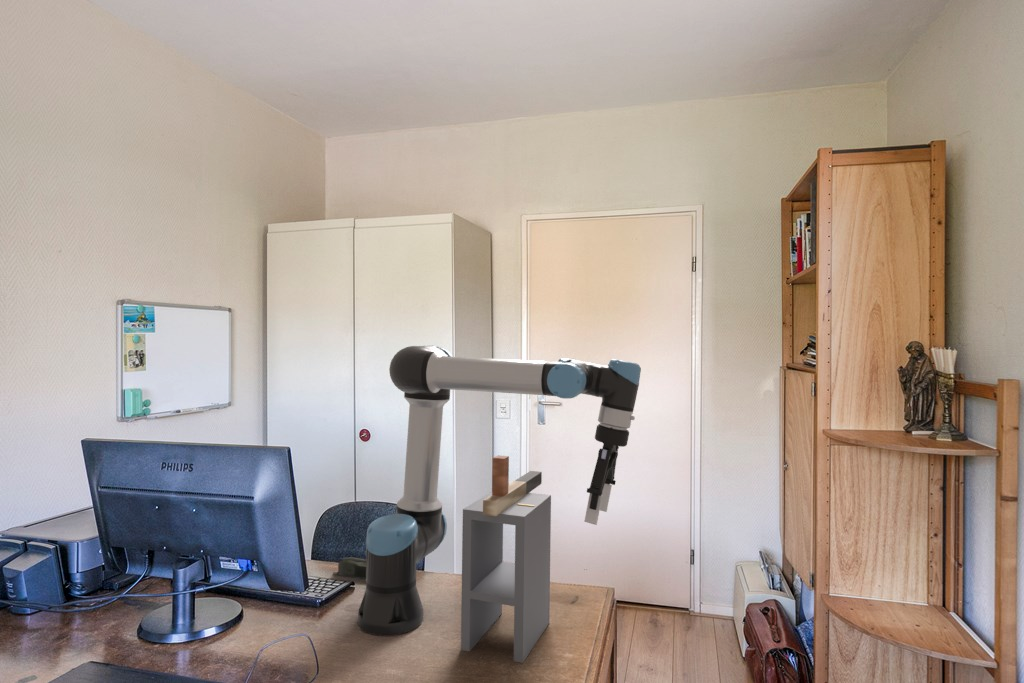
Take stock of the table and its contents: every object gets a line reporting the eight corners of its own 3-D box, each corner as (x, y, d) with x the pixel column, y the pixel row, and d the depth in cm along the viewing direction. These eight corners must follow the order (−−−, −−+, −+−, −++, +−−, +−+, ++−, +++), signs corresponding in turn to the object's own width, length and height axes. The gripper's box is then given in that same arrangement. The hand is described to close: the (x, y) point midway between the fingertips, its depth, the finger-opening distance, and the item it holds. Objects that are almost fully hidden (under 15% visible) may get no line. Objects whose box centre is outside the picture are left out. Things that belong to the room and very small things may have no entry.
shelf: (460, 649, 127) (462, 508, 127) (494, 612, 144) (495, 488, 145) (522, 662, 122) (524, 515, 122) (549, 622, 140) (551, 494, 140)
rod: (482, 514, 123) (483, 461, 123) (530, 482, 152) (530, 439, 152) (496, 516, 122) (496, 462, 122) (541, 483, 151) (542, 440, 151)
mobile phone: (386, 560, 165) (337, 554, 169) (381, 564, 162) (332, 558, 166) (385, 578, 165) (336, 572, 169) (381, 582, 162) (331, 576, 166)
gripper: (622, 434, 124) (602, 534, 124) (635, 426, 148) (619, 509, 148) (587, 426, 127) (568, 524, 127) (606, 419, 151) (590, 501, 150)
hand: (595, 516), depth 137 cm, fingers open, 13 cm apart
